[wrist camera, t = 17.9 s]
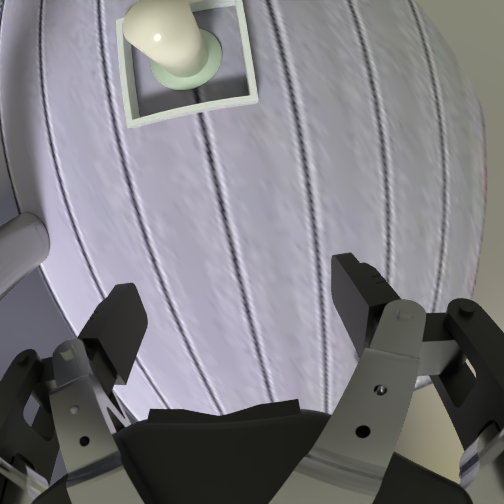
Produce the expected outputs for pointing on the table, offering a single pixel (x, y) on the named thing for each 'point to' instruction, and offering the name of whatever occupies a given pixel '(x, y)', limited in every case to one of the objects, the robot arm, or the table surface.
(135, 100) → the square picture frame
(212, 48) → the pad
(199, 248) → the table surface
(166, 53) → the canister
